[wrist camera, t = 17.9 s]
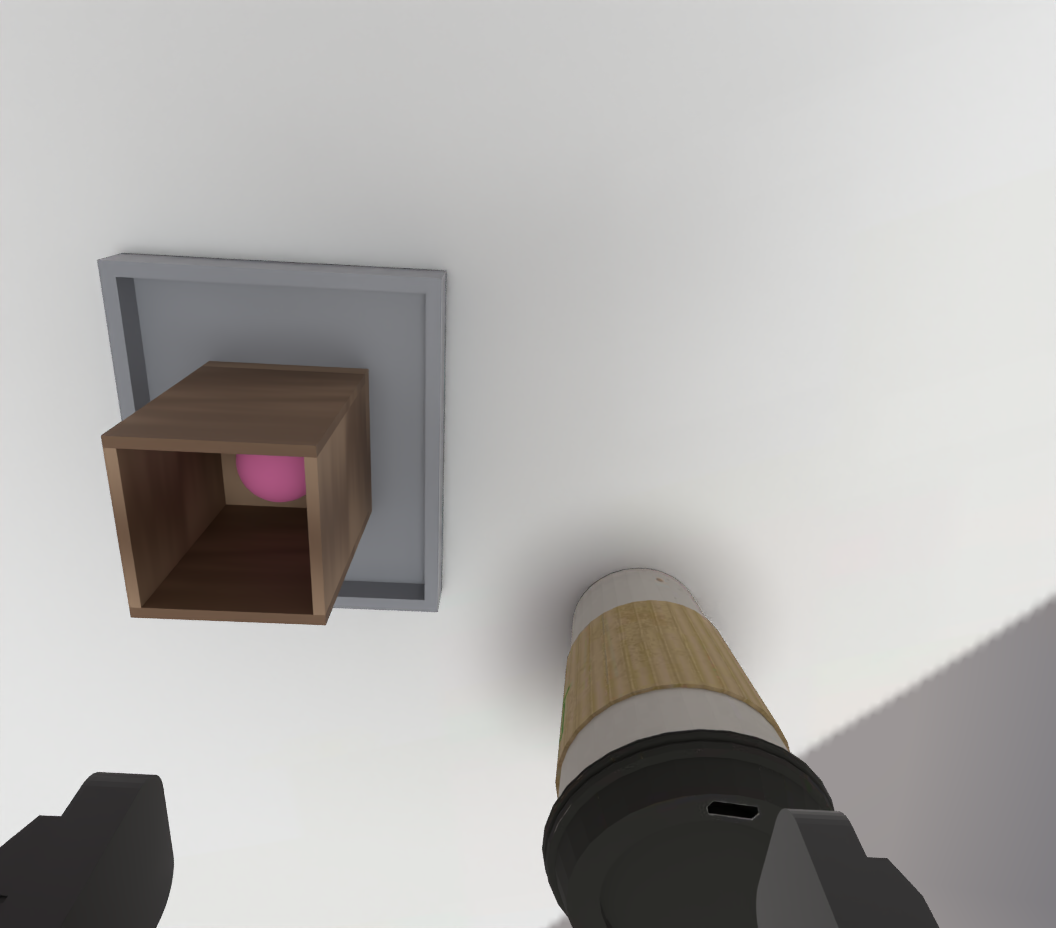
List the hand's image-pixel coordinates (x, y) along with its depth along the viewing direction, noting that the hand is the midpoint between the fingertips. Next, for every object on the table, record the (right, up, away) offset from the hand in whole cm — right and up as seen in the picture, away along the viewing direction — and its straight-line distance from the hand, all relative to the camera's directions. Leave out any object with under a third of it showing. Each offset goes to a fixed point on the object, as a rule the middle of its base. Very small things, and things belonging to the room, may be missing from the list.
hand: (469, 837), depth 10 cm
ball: (-9, +5, +21) cm, 24 cm away
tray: (-9, +6, +24) cm, 26 cm away
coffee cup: (+6, -3, +28) cm, 29 cm away
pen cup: (-9, +6, +23) cm, 26 cm away
